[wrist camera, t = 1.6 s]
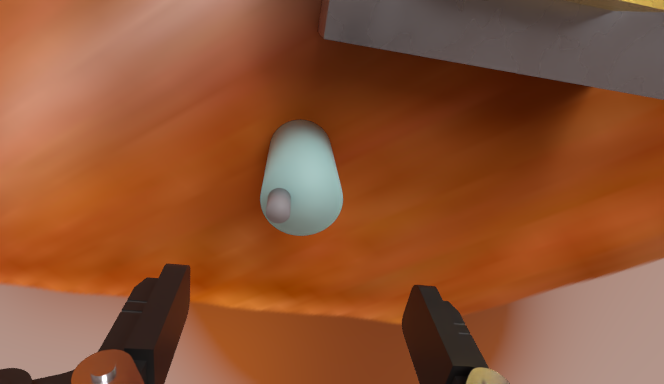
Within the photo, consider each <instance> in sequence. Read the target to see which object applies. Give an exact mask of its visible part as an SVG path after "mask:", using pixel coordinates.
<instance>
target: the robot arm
mask: <svg viewBox="0 0 664 384" xmlns="http://www.w3.org/2000/svg"><path fill="white" fill-rule="evenodd" d="M189 302H190V266H189V265H178V264H166V265H165V266H164V268H163V270H162V272H161V274H160V276H159V278H146V279H144V280H143V281H142V282H141V283H139V284H138V285H137V286H136V287H134V289H133V291H132V293H131V294H130V296H129V298H128V300H127V302H126V303H125V305H124V307H123V309H122V312H120V314H119V316H118V317H117V319H116V321H115V323H114V325H113V326H112V328H111V330H110V332H109V333H108V335H107V337H106V339H105V340H104V342H103V344H102V346H101V348H100V349H99V351H98V352H97V353H94V354H92V355H90V356H89V357H87V358H85V359H84V360H83V361H82V362H81V363H80V364H79V365H78V366H77V367H76V368H75V369H74V370H73V371H70V372H67V373H63V374H59V375H54V376H49V377H45V378H40V379H35V380H32V379H31V376H30V375H29V373H27V372H26V371H24V370H22V369H17V368H7V369H1V370H0V384H164V383H165V379H166V377H167V373H168V371H169V368H170V365H171V362H172V359H173V356H174V353H175V350H176V348H177V344H178V342H179V339H180V336H181V333H182V330H183V327H184V324H185V321H186V318H187V314H188V310H189ZM402 329H403V334H404V337H405V340H406V343H407V346H408V349H409V352H410V356H411V359H412V362H413V364H414V367H415V370H416V374H417V376H418V380H419V383H420V384H510V383H509V382H508V381H507V380H506V379H505V378H504V377H503V376H502V375H500V374H499V373H497V372H496V371H493V370H491V369H489V368H488V366H487V364H486V362H485V360H484V358H483V356H482V354H481V353H480V351H479V349H478V347H477V345H476V343H475V341H474V339H473V338H472V336H471V335H470V332H469V330H468V328H467V326H465V323H464V321H463V319H462V317H461V315H460V313H459V312H458V311H457V310H456V309H455V308H454V307H453V306H452V305H451V304H450V303H449V302H448V301H443V300H442V298H441V296H440V294H439V292H438V290H437V288H436V287H435V286H424V285H414V286H413V288H412V290H411V293H410V296H409V299H408V302H407V305H406V308H405V311H404V314H403V318H402Z"/></svg>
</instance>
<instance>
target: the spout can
mask: <svg viewBox="0 0 664 384" xmlns="http://www.w3.org/2000/svg"><path fill="white" fill-rule="evenodd" d="M260 203H261V208H262V211H263V214H264V216H265V217H266V219H267V220H268V221H269V222H270V223H271V224H272V225H273V226H274V227H275V228H277V229H278V230H280V231H282V232H285V233H287V234H291V235H298V236H305V235H312V234H315V233H318V232H320V231H322V230H324V229H326V228H327V227H329V226H330V225H331V224H332V223H333V222H334V221H335V220H336V218H337V217H338V215H339V213H340V211H341V208H342V204H343V194H342V189H341V185H340V181H339V176H338V172H337V168H336V164H335V160H334V156H333V152H332V148H331V143H330V140H329V138H328V135H327V134H326V132H325V131H324V130H323V129H322V128H321V127H320V126H319V125H317V124H315V123H313V122H311V121H307V120H293V121H290V122H287V123H285V124H283V125H282V126H281V127H279V128H278V129H277V130H276V132H275V133H274V135H273V137H272V139H271V142H270V147H269V153H268V158H267V163H266V168H265V174H264V179H263V184H262V189H261V195H260Z"/></svg>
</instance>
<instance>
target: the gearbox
mask: <svg viewBox="0 0 664 384" xmlns="http://www.w3.org/2000/svg"><path fill="white" fill-rule="evenodd" d="M318 32H319V34H320V35H321V36H322V37H323V39H327V40H333V41H339V42H344V43H350V44H355V45H361V46H367V47H372V48H378V49H383V50H389V51H395V52H400V53H406V54H411V55H417V56H423V57H428V58H434V59H439V60H445V61H451V62H456V63H462V64H467V65H473V66H479V67H484V68H490V69H495V70H501V71H507V72H512V73H518V74H523V75H529V76H535V77H540V78H546V79H551V80H557V81H562V82H568V83H574V84H579V85H585V86H590V87H596V88H602V89H607V90H613V91H618V92H624V93H630V94H635V95H641V96H646V97H652V98H658V99H663V100H664V0H322V4H321V11H320V18H319V25H318Z"/></svg>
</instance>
